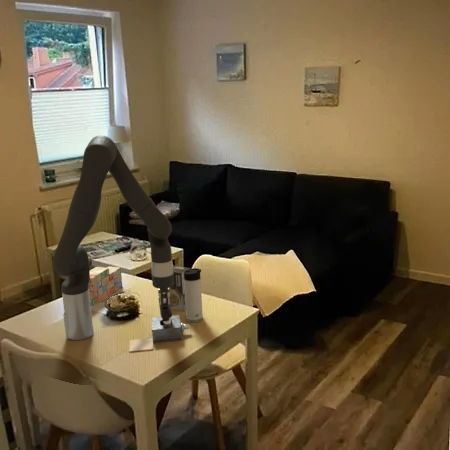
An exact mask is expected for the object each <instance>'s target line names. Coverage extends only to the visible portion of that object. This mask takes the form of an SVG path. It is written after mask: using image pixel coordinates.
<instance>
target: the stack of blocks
mask: <svg viewBox="0 0 450 450" xmlns="http://www.w3.org/2000/svg"><path fill="white" fill-rule="evenodd" d="M121 270H122V269H121V267H120V266H119V267H118V266H107V267H103V266H96V267H94V268H92V269H89V272H90V281H89V284H88V287H89V296H90V305H91V306H96V305H98V304H99V303H101V302H102V301H104V300H105V299H107V298H108V297H110V296H111V295H112V294H114V293H115V292H117V291H118V290H120V289H121V288H123V281H122V280H123V277H122V271H121Z"/></svg>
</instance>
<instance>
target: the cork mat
mask: <svg viewBox="0 0 450 450" xmlns="http://www.w3.org/2000/svg"><path fill="white" fill-rule="evenodd" d="M128 346H129V350H128V352H129V353H135V352H147V351H153V350H154V343H153V337H149V338H140V339H139V338H138V339H130V340H129V345H128Z"/></svg>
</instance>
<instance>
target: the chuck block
mask: <svg viewBox="0 0 450 450" xmlns="http://www.w3.org/2000/svg"><path fill="white" fill-rule="evenodd" d="M171 323H172V324H171V325H164V324H163V318H161V316H157V317H156V316H155V317H151V333H152V338H153V344H157V343H168V342H174V341H175V342H177V341H178V342H179V341H182V340H183V339H182V333H183V332H185V330H190V328H191V327H190V324H189V323H186V324H184V322H181V319H180V315H179V314H177V315H172V317H171Z"/></svg>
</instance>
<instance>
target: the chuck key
mask: <svg viewBox="0 0 450 450" xmlns="http://www.w3.org/2000/svg"><path fill="white" fill-rule="evenodd" d="M167 297H168V296H167ZM157 298H158V299H157V300H158V305H159V306H158V307H159V313H160V317H161V318H163V317H162V311H161V309H162V308H161V305H160V299H159V297H157ZM169 301H170V296H169ZM168 306H169V321H163V324H164V325H171V324H172V323H171V317H172V316H173V312H172V310H173V309H172V308H171V303H170V304H169V305H168ZM163 308H167V307H163Z"/></svg>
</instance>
